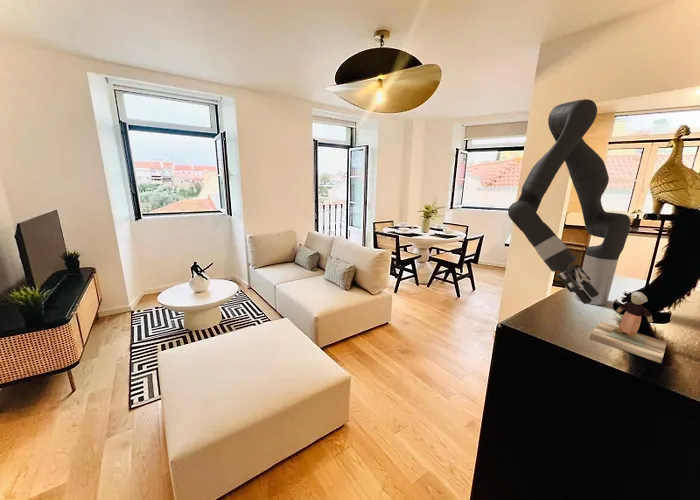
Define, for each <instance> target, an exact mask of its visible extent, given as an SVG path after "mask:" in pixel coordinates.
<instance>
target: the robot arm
mask: <svg viewBox="0 0 700 500" xmlns="http://www.w3.org/2000/svg"><path fill="white" fill-rule="evenodd" d="M597 114H598V106H597V104H596V103H595V101H594V100H591V99H585V98H584V99H579V100H577V99H576V100H573V101H569V102H564V103H561V104H558V105H556V106H554V107H553V108H552V109H551V111H550V112H549V114H548V120H547V122H548V123H547V124H548V128H549V131H550V133H551V135H552V137H553V139H554V140H555V143H554V144H553V145H552V146H551V148H549V150H548V151H547V152H546V153H544V155H543V156H542V157H541V158H540V159H539V160H538V161H537V162H536V163H535V164H534V165H533V167H532V168H531V169H530V171H529V173H528V175H527V177H526V179H525V181H524V183H523V185H522V187H521V193H520V196H519V197H518V200H517V201H515V202H513V203H512V204H511V205H510V206H509V207H508V213H507V214H508V217H509V219H510V220H511V221H512V223H513V224H514V225H515V226H516V227H517V228H518V229H519V231H521V233H522V234H523V235H524V236H525V238H526V239H527V241H528V242H529V243H530V244H531V245H532V247H533V248H534V250H535V251H536V253H537V254H538V256H539V257H540V258H541V260H542V261H543V262H544V263H545V265H546V266H547V267H548V269H549V270H550V271H551V272H552V273H554V272H557V271H559V272H560V273H557V278H558V279H559V281H561V283H562V284H563V285H564V287H565V288H566V289H567V290H568V291H569V292H570V293H573V294H575V299H577V300H579V301H580V302H582V303H583V304H584V305H587V304H590V305H595V306H596V305H597V306H606V305H607V304H608V300H609V296H610V294H611V289H612V285H613V281H614V278H615V277H614V276H615V273H616V269H617V266H618V261H619V257H620V256H621V254H622V252H623V250H624V247H625V245H626V241H627V239H628V237H629V233H630V230H631V227H632V224H631V223H632V221H631V220H632V219H631V218H630V216H629V215H628V214H626V213H619V212H610V211H609V212H608V211H605V209H604V208H603V205H602V197H603V194H604V193H605V192H606V190H607V186H608V185H609V181H610V177H609V172H608V170H607V166H606V164H605V161H604V160H603V158H602V157H601V156H600V155H599V154H598V153H597V152H596V151H595V150H594V149H593V148H592V147H591V146H589V144H588V143H586V141H585V140H584V137H585V135H586V133H587V132H588V131H589V129H590V128H591V127H592V125H593V124H594V122H595V121H596V119H597V116H598V115H597ZM564 163H565V165H566V166H567V170H568V173H569V177H570V179H571V182H572V185H573V187H574V189H575V192H576V195H577V199H578V202H579V204H580V208H581V212H582V218H583V222H584V223H583V224H584V225H585V226H584V227H585V229H586V231H587V233H588V234H589V235H591V236H593V237H595V238H602V239H603V240H602V243H601V244H599V245H592V246H588V247H586V250H585V255H584V257H583V258H584V259H583V262H582V267H581V265H579V264H577V263H576V264H575V265H574V264H573V263H574V262H577V261H578V258H577V257H576V255H575V254H574V253H573V252H572V251H571V250H570V248H568V246H567V245H566V244H565V242H564V241H563V240H562V239H561V238H560V237H558V236H557V235H556V233H555V232H554V231H553V230H552V228H551V227H550V226H549V225H548V224H546V223H545V222H544V221H543V219H542V218H541V217H540V216H539V214H538V213H537V212H538V210H539V207H540V204H541V203H542V201H543V198H544V196H545V194H546V193H547V191H548V189H549V188H550V185H551V184H552V182H553V181H554V178H555V177H556V175H557V173H558V172H559V170H560V169H561V167H562V166H563V164H564Z"/></svg>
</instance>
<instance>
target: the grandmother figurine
mask: <svg viewBox="0 0 700 500" xmlns="http://www.w3.org/2000/svg"><path fill="white" fill-rule="evenodd" d="M630 295H631V296H630V298H631V299H630V302H625V303H623V304H621V305H620V306H619V307H618V308H617V309H616V310H615V311H616V312H617V313H621V312H623V311H624V310H626V311H625V312H624V313H623V315H622V318H621V321H620V324H619V326H618V327H619V328H616V329H615V331H617V332H620V333H626V335H627V336H630V337H633V338H635V337H636V334H637V333H638V332H639V331H638V330H639V329H640V326H641V322H642V315H643V316H644V317H645V318H646V319H647V322H648V323H653V322H654V320H653V314H652V313H651V311H649V309H647V307H645V306H643V304H644V303H647V302H648V301H649V300H648V297H647V295H645V294H644V293H643V292H641V291H633V292H631V294H630Z"/></svg>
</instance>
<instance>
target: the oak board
mask: <svg viewBox="0 0 700 500" xmlns="http://www.w3.org/2000/svg"><path fill="white" fill-rule="evenodd" d="M616 328H619V326H615V325H612V324H608V323H606V322H602V321H600V322H599V323H598V324H597V326H596V327H595V328H594V329H593V330H592V332H591V333H590V335H589V340H593V341H595V342H598V343H601V344H605V345H606V346H609V347H613V348H616V349H618V350H621V351H624V352H626V353H630V354H633V355H636V356H639V357H641V358H645V359H646V360H650V361H653V362H656V363H659V364H662V361H663V358H664V354H665V351H666V347H667V344H668V342H667V341H665V340H661V339H658V338H655V337H652V336H649V335H645V334H641V333H639V332H637V334H636V337H635V338H633V337H630V336H627V335H626V333H620V332H617V331H615V329H616Z"/></svg>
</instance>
